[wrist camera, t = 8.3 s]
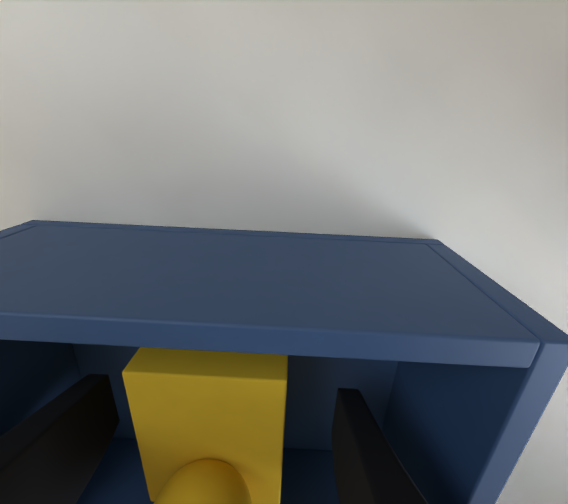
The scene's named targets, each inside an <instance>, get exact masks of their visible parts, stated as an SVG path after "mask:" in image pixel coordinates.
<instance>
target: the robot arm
mask: <svg viewBox="0 0 568 504" xmlns="http://www.w3.org/2000/svg"><path fill="white" fill-rule="evenodd" d="M119 421H120V420H119V416H118V412H117V407H116V403H115V399H114V395H113V391H112V387H111V383H110V379H109V375H106V374H88V375H86V376H85V377H84V378H82V379H81V380H79V381H78V382H76V383H75V384H73V385H72V386H71V387H69V388H68V389H66V390H65V391H64V392H62V393H61V394H60V395H58V396H57V397H55V398H54V399H53V400H51V401H50V402H49V403H47V404H46V405H44V406H43V407H42V408H40V409H39V410H37V411H36V412H35V413H33V414H32V415H30V416H29V417H28V418H26V419H25V420H23V421H22V422H21V423H19V424H18V425H16V426H15V427H14V428H12V429H11V430H9V431H8V432H7V433H5V434H4V435H2V436H1V437H0V504H76V502H77V501H78V499H79V497H80V496H81V494H82V492H83V491H84V489H85V487H86V485H87V484H88V482H89V480H90V479H91V477H92V475H93V474H94V472H95V470H96V468H97V467H98V465H99V463H100V462H101V460H102V458H103V456H104V454H105V452H106V450H107V448H108V446H109V444H110V442H111V439H112V437H113V435H114V433H115V430H116V428H117V426H118V424H119ZM331 438H332V451H333V464H334V474H335V480H336V486H337V492H338V498H339V504H428V503H427V501H426V500H425V498H424V497H423V495H422V494H421V492H420V491H419V489H418V488H417V486H416V485H415V483H414V482H413V480H412V479H411V477H410V476H409V474H408V473H407V471H406V470H405V468H404V467H403V465H402V463H401V462H400V460H399V459H398V457H397V455H396V454H395V452H394V451H393V449H392V447H391V446H390V444H389V442H388V441H387V439H386V437H385V436H384V434H383V432H382V431H381V429H380V427H379V425H378V424H377V422H376V420H375V418H374V416H373V415H372V413H371V411H370V409H369V407H368V405H367V403H366V402H365V400H364V398H363V396H362V394H361V392H360V391H359V390H358V389H353V388H338V390H337V397H336V404H335V411H334V417H333V424H332V431H331Z"/></svg>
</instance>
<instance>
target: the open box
mask: <svg viewBox="0 0 568 504" xmlns="http://www.w3.org/2000/svg"><path fill="white" fill-rule="evenodd" d="M140 347H147V348H166V349H184V350H202V351H221V352H239V353H257V354H276V355H288V371H287V394H286V411H285V428H284V445H283V462H282V479H281V497H280V504H339V498H338V492H337V486H336V480H335V474H334V464H333V451H332V438H331V431H332V424H333V417H334V411H335V404H336V397H337V390H338V388H353V389H358V390H359V391H360V392H361V394H362V396H363V398H364V400H365V402H366V403H367V405H368V407H369V409H370V411H371V413H372V415H373V416H374V418H375V420H376V422H377V424H378V425H379V427H380V429H381V431H382V432H383V434H384V436H385V437H386V439H387V441H388V442H389V444H390V446H391V447H392V449H393V451H394V452H395V454H396V455H397V457H398V459H399V460H400V462H401V463H402V465H403V467H404V468H405V470H406V471H407V473H408V474H409V476H410V477H411V479H412V480H413V482H414V483H415V485H416V486H417V488H418V489H419V491H420V492H421V494H422V495H423V497H424V498H425V500H426V501H427V503H428V504H495V503H496V501H497V499H498V497H499V495H500V493H501V492H502V490H503V488H504V486H505V484H506V482H507V480H508V478H509V476H510V474H511V473H512V471H513V469H514V467H515V465H516V463H517V461H518V459H519V457H520V456H521V454H522V452H523V450H524V448H525V446H526V444H527V442H528V440H529V438H530V437H531V435H532V433H533V431H534V429H535V427H536V425H537V423H538V421H539V420H540V418H541V416H542V414H543V412H544V410H545V408H546V406H547V404H548V402H549V401H550V399H551V397H552V395H553V393H554V391H555V389H556V387H557V385H558V384H559V382H560V380H561V378H562V376H563V374H564V372H565V370H566V368H567V366H568V335H567V334H566V333H565V332H563V331H562V330H560V329H559V328H558V327H556V326H555V325H554V324H552V323H551V322H550V321H548V320H547V319H545V318H544V317H543V316H541V315H540V314H539V313H537V312H536V311H534V310H533V309H532V308H530V307H529V306H528V305H526V304H525V303H524V302H522V301H521V300H519V299H518V298H517V297H515V296H514V295H513V294H511V293H510V292H509V291H507V290H506V289H504V288H503V287H502V286H500V285H499V284H498V283H496V282H495V281H494V280H492V279H491V278H489V277H488V276H487V275H485V274H484V273H483V272H481V271H480V270H479V269H477V268H476V267H474V266H473V265H472V264H470V263H469V262H468V261H466V260H465V259H464V258H462V257H461V256H459V255H458V254H457V253H455V252H454V251H453V250H451V249H450V248H449V247H447V246H446V245H444V244H443V243H442V242H440V241H439V240H434V239H413V238H392V237H371V236H351V235H330V234H309V233H288V232H268V231H247V230H226V229H205V228H185V227H164V226H143V225H122V224H102V223H81V222H60V221H39V220H32V221H29V222H26V223H23V224H21V225H17V226H14V227H11V228H8V229H5V230H2V231H0V437H1V436H2V435H4V434H5V433H7V432H8V431H9V430H11V429H12V428H14V427H15V426H16V425H18V424H19V423H21V422H22V421H23V420H25V419H26V418H28V417H29V416H30V415H32V414H33V413H35V412H36V411H37V410H39V409H40V408H42V407H43V406H44V405H46V404H47V403H49V402H50V401H51V400H53V399H54V398H55V397H57V396H58V395H60V394H61V393H62V392H64V391H65V390H66V389H68V388H69V387H71V386H72V385H73V384H75V383H76V382H78V381H79V380H81V379H82V378H84V377H85V376H86V375H88V374H106V375H109V379H110V383H111V387H112V391H113V395H114V399H115V403H116V407H117V412H118V416H119V420H120V421H119V424H118V426H117V428H116V430H115V433H114V435H113V437H112V439H111V442H110V444H109V446H108V448H107V450H106V452H105V454H104V456H103V458H102V460H101V462H100V463H99V465H98V467H97V468H96V470H95V472H94V474H93V475H92V477H91V479H90V480H89V482H88V484H87V485H86V487H85V489H84V491H83V492H82V494H81V496H80V497H79V499H78V501H77V502H76V504H154V501H151V500H150V497H149V492H148V488H147V483H146V479H145V474H144V470H143V465H142V461H141V456H140V452H139V447H138V443H137V438H136V434H135V429H134V425H133V420H132V416H131V412H130V407H129V403H128V398H127V394H126V389H125V385H124V380H123V376H122V372H123V370H124V369H125V367H126V366H127V364H128V363H129V362H130V360H131V359H132V358H133V356H134V355H135V353H136V352H137V351H138V349H139V348H140Z"/></svg>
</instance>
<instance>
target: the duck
mask: <svg viewBox="0 0 568 504" xmlns="http://www.w3.org/2000/svg"><path fill="white" fill-rule="evenodd" d="M287 371H288V355H276V354H257V353H239V352H221V351H202V350H184V349H166V348H147V347H140V348H139V349H138V351H137V352H136V353H135V355H134V356H133V358H132V359H131V360H130V362H129V363H128V364H127V366H126V367H125V369H124V370H123V372H122V376H123V380H124V385H125V389H126V394H127V398H128V403H129V407H130V412H131V416H132V420H133V425H134V429H135V434H136V438H137V443H138V447H139V452H140V456H141V461H142V465H143V470H144V474H145V479H146V483H147V488H148V492H149V497H150V500H151V501H154V504H280V497H281V479H282V462H283V445H284V428H285V411H286V394H287Z"/></svg>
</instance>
